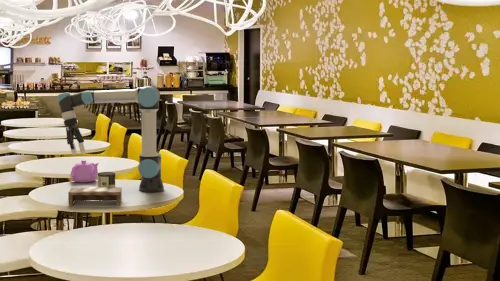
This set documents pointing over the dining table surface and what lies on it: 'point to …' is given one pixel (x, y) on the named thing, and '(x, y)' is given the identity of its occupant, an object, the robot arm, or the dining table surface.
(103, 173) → the coffee can
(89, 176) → the teapot
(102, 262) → the dining table surface
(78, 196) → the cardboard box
